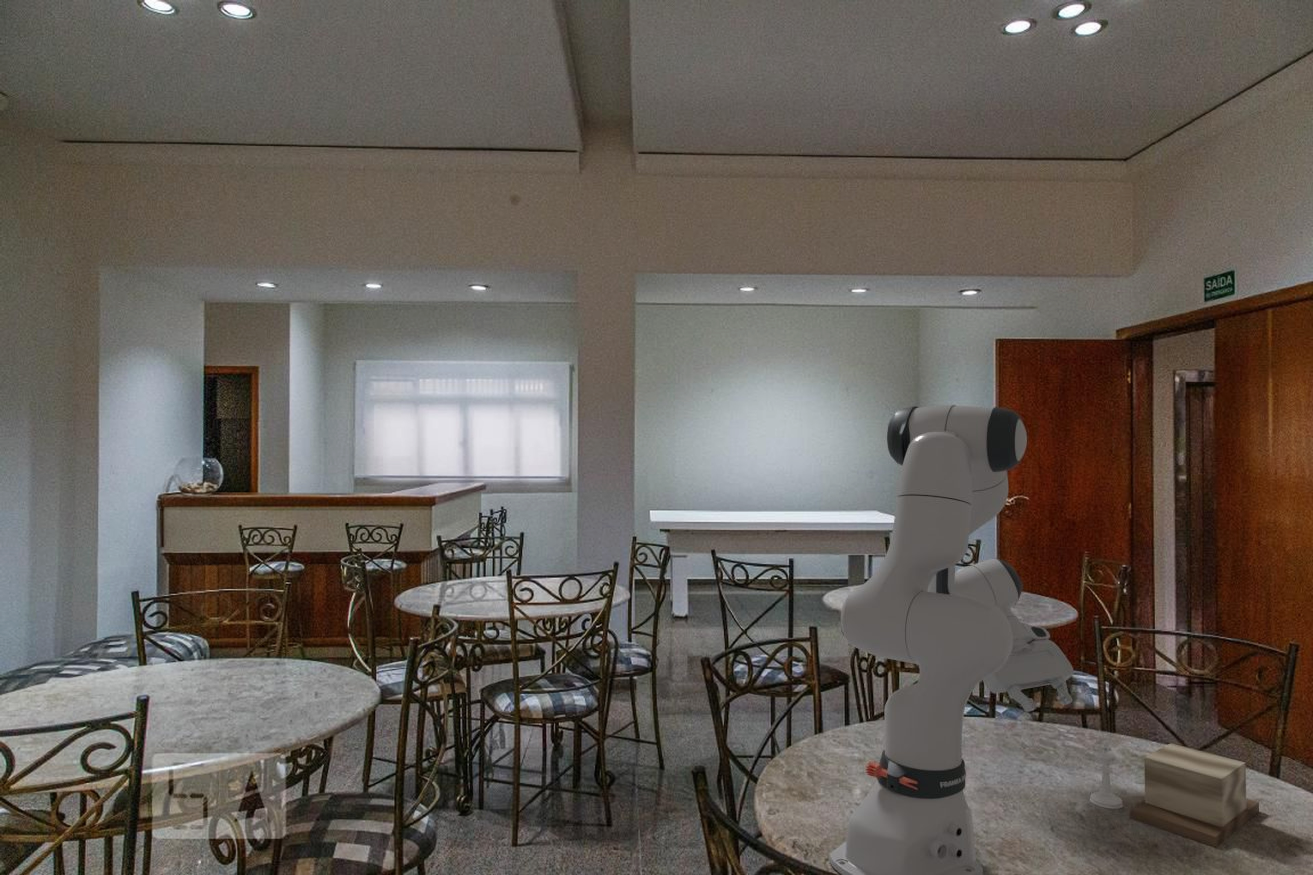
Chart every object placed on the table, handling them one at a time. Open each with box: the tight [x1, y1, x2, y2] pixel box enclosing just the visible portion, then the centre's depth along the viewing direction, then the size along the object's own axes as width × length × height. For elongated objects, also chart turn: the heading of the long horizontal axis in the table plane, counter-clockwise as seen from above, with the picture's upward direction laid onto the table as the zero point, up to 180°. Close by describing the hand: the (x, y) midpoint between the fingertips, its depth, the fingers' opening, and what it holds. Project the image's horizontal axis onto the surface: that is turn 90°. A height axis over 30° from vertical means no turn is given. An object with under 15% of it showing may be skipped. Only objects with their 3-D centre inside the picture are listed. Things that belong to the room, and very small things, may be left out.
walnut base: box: [1129, 742, 1260, 848], centre depth 130 cm, size 20×12×9 cm, turn 127°
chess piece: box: [1089, 743, 1124, 810], centre depth 135 cm, size 5×5×10 cm
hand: (1050, 706), depth 145 cm, fingers open, 8 cm apart
